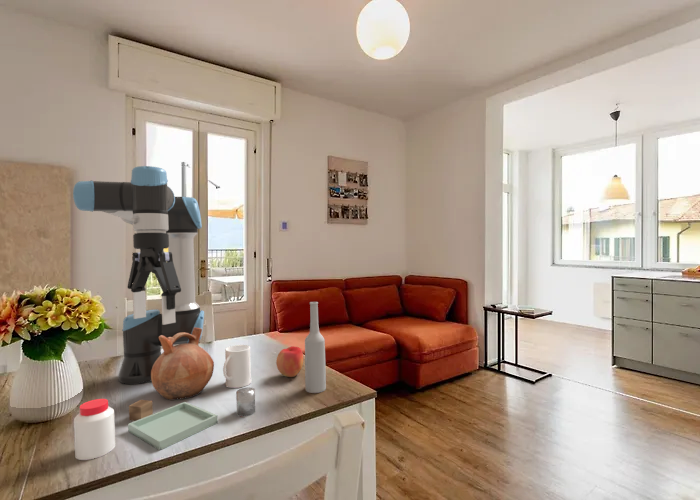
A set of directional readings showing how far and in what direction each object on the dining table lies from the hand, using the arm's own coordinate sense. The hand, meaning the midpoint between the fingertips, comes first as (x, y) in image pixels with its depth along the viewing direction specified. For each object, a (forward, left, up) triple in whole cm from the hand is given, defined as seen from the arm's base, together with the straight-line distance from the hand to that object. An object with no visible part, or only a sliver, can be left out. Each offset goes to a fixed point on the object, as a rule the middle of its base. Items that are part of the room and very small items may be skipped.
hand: (153, 320), depth 89 cm
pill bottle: (-8, -10, -29) cm, 32 cm away
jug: (-22, +20, -29) cm, 42 cm away
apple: (-3, +49, -29) cm, 57 cm away
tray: (-3, +6, -29) cm, 30 cm away
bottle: (+12, +45, -29) cm, 55 cm away
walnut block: (-16, +4, -29) cm, 34 cm away
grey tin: (+6, +22, -29) cm, 37 cm away
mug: (-13, +33, -29) cm, 46 cm away
